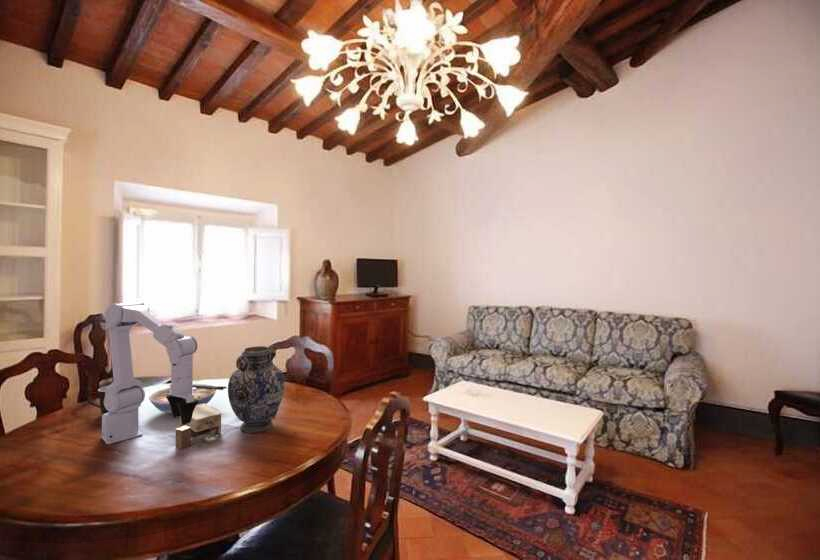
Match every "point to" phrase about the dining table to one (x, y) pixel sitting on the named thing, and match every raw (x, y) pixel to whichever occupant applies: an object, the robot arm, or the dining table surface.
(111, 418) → the robot arm
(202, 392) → the ramen bowl
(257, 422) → the decorative vase
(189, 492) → the dining table surface
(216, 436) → the button
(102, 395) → the coffee mug
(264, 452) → the dining table surface
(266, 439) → the dining table surface
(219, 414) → the tan slab
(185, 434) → the wood grain brick
